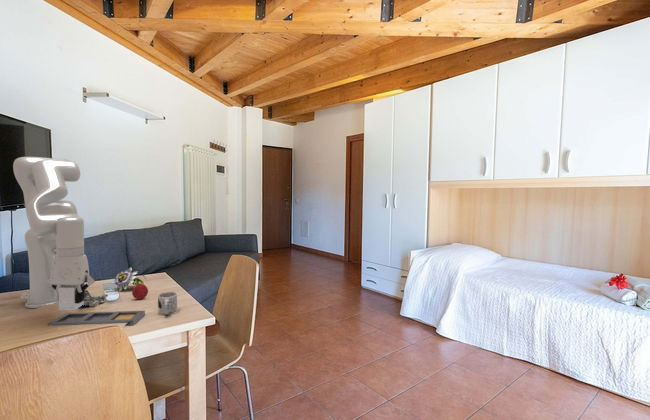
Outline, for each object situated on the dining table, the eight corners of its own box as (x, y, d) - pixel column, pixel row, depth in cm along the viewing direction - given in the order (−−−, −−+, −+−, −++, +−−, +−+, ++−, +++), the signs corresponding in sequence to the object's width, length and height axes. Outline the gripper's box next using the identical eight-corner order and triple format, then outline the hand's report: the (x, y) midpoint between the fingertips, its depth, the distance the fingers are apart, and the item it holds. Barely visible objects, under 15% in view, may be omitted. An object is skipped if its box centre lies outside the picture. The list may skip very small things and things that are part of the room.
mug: (159, 309, 124) (159, 292, 124) (177, 307, 126) (177, 291, 126) (155, 319, 115) (155, 301, 114) (175, 316, 117) (175, 299, 117)
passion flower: (121, 302, 145) (104, 282, 143) (137, 290, 155) (121, 272, 154) (138, 290, 143) (120, 270, 141) (153, 279, 153) (137, 260, 151)
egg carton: (109, 304, 129) (109, 294, 129) (92, 310, 122) (92, 300, 122) (89, 301, 132) (89, 291, 131) (71, 307, 124) (71, 297, 124)
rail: (48, 328, 105) (47, 323, 105) (66, 317, 114) (66, 313, 114) (133, 325, 109) (133, 320, 109) (144, 314, 118) (144, 310, 118)
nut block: (58, 310, 108) (58, 287, 107) (68, 304, 113) (68, 282, 112) (74, 310, 109) (74, 287, 108) (83, 304, 114) (83, 283, 113)
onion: (151, 298, 136) (150, 280, 135) (142, 303, 130) (141, 284, 130) (138, 297, 136) (138, 279, 136) (129, 302, 131) (128, 283, 130)
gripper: (35, 253, 104) (36, 306, 106) (90, 254, 107) (91, 306, 108) (51, 248, 112) (52, 298, 113) (103, 250, 114) (103, 298, 116)
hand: (71, 301), depth 111 cm, fingers closed on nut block, 5 cm apart
